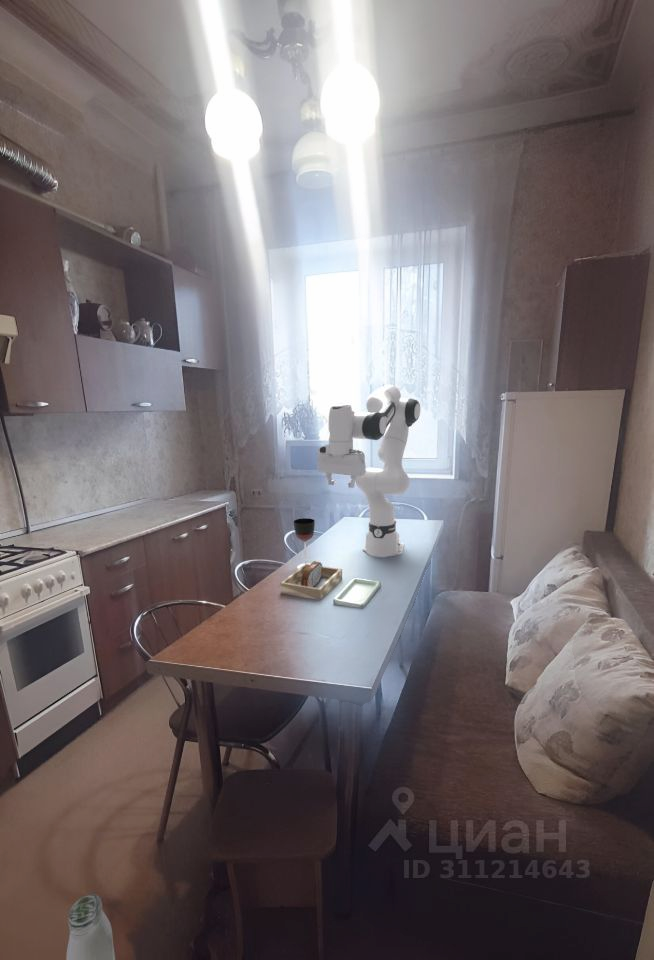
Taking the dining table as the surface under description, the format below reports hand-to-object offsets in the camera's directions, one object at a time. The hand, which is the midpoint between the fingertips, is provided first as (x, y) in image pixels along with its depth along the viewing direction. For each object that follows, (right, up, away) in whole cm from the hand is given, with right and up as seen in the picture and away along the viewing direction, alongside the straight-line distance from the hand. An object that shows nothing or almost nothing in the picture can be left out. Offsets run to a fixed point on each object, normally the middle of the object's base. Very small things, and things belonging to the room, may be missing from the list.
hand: (341, 486), depth 161 cm
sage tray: (+6, -39, -6) cm, 40 cm away
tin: (-11, -38, +4) cm, 40 cm away
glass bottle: (-64, -129, -49) cm, 152 cm away
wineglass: (-14, -34, +23) cm, 44 cm away
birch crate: (-11, -38, +4) cm, 39 cm away
